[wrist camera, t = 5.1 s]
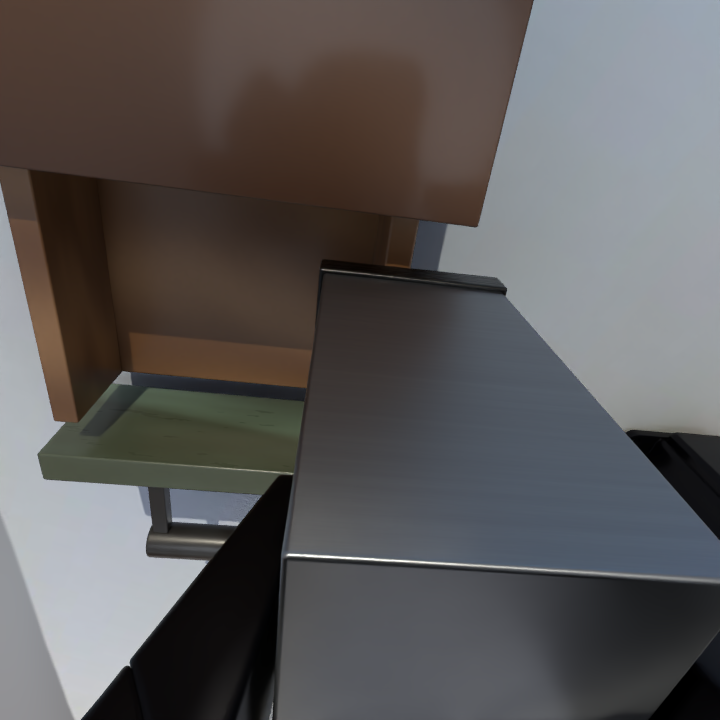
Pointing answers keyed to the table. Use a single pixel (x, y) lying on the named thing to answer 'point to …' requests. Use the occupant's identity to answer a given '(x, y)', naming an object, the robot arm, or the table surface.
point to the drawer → (177, 330)
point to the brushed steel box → (474, 523)
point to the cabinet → (266, 97)
